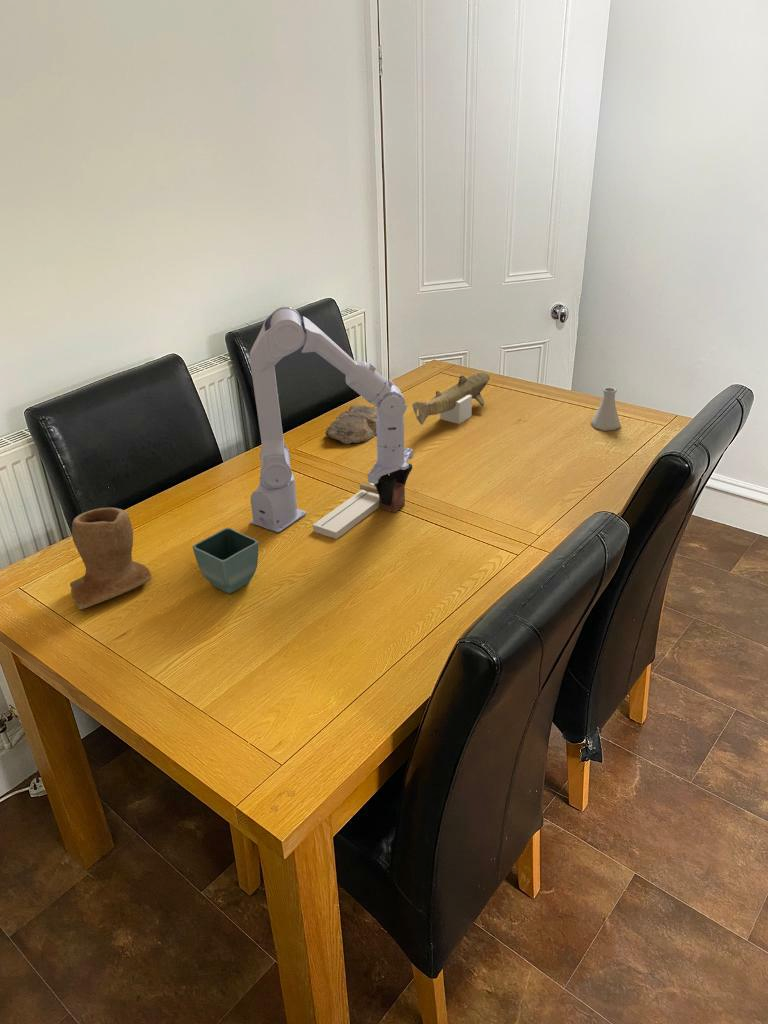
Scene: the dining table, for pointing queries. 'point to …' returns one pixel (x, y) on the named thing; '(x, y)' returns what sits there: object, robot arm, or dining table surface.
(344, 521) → the board
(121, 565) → the stone cup
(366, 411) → the grey brown rock
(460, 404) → the wood carving
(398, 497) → the chocolate popsicle
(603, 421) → the flask
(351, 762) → the dining table surface
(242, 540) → the flower pot
